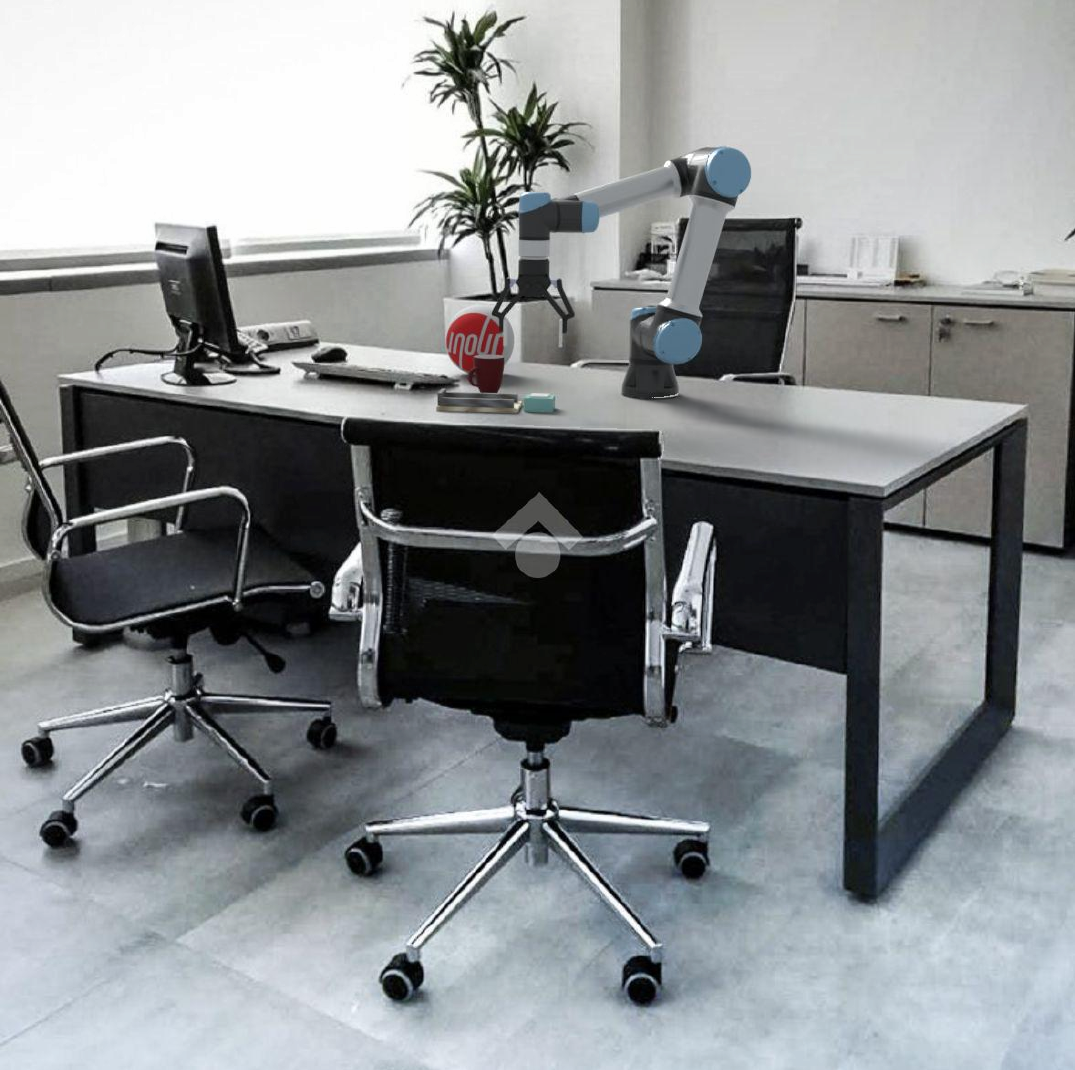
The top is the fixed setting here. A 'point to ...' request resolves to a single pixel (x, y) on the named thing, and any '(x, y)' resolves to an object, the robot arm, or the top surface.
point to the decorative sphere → (476, 336)
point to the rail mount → (477, 402)
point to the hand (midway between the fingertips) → (532, 346)
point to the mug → (487, 373)
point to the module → (539, 402)
